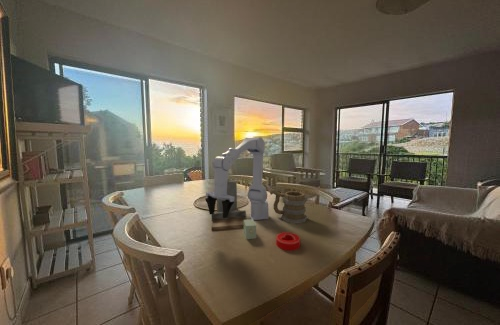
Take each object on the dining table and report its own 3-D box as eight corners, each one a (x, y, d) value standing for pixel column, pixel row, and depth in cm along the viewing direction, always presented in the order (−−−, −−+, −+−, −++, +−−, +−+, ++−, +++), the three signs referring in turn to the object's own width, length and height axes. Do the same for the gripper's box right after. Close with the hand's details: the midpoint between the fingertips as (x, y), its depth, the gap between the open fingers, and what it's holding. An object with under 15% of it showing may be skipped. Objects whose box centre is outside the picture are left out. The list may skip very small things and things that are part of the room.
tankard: (307, 216, 113) (308, 190, 111) (303, 225, 101) (304, 196, 100) (273, 211, 121) (273, 187, 120) (266, 219, 110) (266, 192, 108)
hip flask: (220, 216, 115) (219, 181, 113) (215, 214, 117) (213, 180, 115) (238, 208, 127) (237, 177, 125) (233, 207, 130) (232, 176, 128)
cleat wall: (245, 219, 110) (245, 210, 109) (248, 226, 100) (248, 217, 99) (211, 222, 106) (211, 212, 106) (211, 230, 97) (211, 220, 96)
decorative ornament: (299, 252, 77) (299, 244, 77) (274, 248, 80) (274, 241, 80) (300, 240, 86) (300, 233, 86) (278, 237, 89) (278, 230, 89)
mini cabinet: (253, 231, 95) (253, 219, 95) (256, 239, 88) (256, 226, 87) (243, 232, 94) (243, 219, 94) (246, 240, 87) (246, 226, 86)
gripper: (201, 182, 87) (199, 214, 87) (227, 186, 80) (225, 221, 80) (212, 182, 93) (210, 211, 93) (238, 185, 86) (236, 217, 86)
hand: (218, 215), depth 87 cm, fingers open, 7 cm apart
